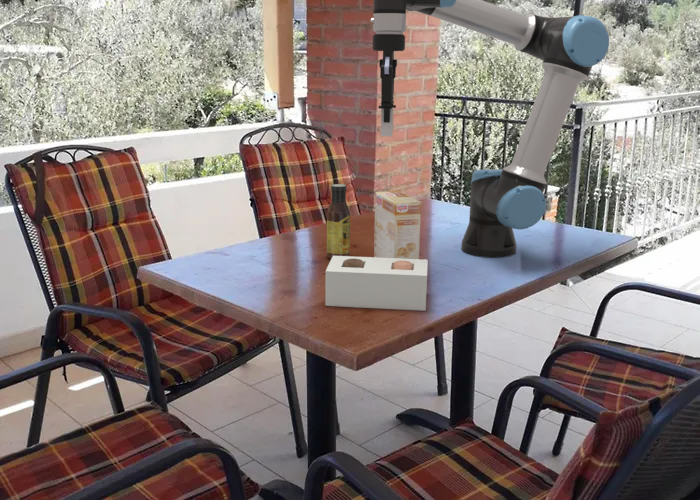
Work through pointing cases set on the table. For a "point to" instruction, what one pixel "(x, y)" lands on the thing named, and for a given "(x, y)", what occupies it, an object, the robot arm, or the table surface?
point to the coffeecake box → (396, 225)
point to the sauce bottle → (338, 223)
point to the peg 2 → (403, 265)
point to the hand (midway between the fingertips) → (386, 135)
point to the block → (376, 284)
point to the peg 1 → (354, 263)
